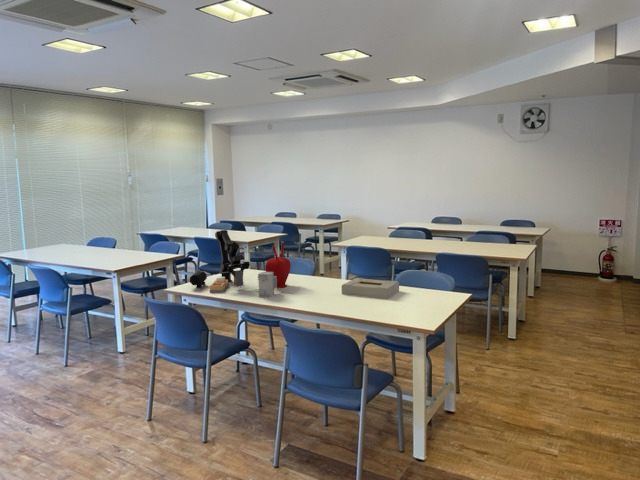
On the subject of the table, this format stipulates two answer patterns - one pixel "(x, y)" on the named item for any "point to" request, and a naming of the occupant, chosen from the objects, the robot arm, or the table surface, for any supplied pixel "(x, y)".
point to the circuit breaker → (267, 284)
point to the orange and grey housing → (219, 285)
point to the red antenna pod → (279, 268)
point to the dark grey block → (238, 278)
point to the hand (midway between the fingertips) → (238, 276)
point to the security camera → (198, 279)
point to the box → (370, 288)
